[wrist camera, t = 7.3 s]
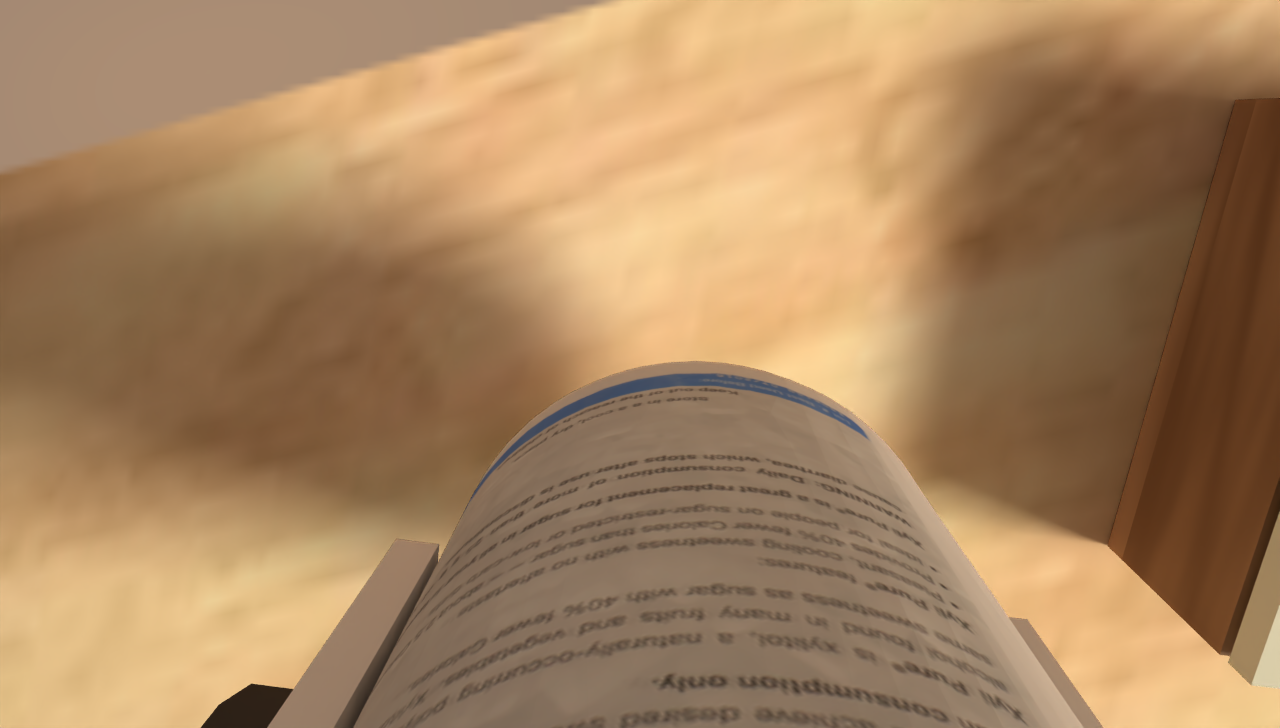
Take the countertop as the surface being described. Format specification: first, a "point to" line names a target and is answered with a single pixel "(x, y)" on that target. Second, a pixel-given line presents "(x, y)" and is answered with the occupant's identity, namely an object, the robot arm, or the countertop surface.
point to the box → (1216, 401)
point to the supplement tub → (706, 577)
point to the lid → (1262, 623)
